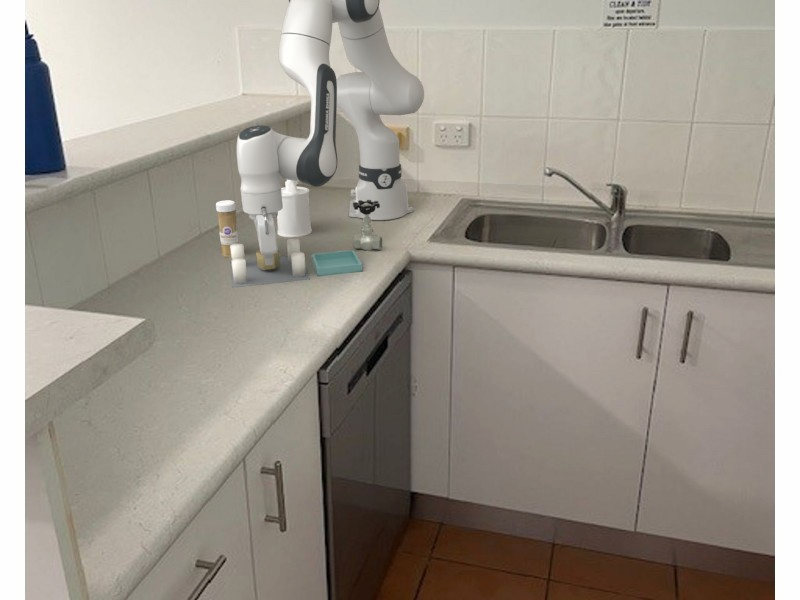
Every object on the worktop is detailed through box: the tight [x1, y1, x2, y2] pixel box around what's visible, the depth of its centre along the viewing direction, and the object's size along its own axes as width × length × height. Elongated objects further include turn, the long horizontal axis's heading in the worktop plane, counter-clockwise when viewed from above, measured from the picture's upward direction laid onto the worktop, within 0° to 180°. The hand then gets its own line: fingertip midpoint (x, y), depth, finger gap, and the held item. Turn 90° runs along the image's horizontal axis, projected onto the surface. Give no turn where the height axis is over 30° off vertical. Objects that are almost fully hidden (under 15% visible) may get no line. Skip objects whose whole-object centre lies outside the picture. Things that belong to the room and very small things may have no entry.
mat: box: [229, 255, 311, 289], centre depth 166 cm, size 17×17×1 cm
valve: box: [352, 200, 383, 252], centre depth 177 cm, size 7×7×12 cm
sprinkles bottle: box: [215, 199, 240, 258], centre depth 175 cm, size 5×5×13 cm
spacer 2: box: [231, 258, 248, 284], centre depth 159 cm, size 3×3×5 cm
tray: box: [311, 249, 363, 277], centre depth 168 cm, size 10×10×2 cm
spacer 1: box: [230, 243, 246, 261], centre depth 168 cm, size 3×3×5 cm
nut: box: [255, 249, 280, 270], centre depth 166 cm, size 4×5×4 cm
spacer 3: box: [286, 237, 301, 262], centre depth 171 cm, size 3×3×5 cm
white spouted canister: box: [276, 179, 313, 238], centre depth 189 cm, size 10×9×20 cm
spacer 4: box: [291, 251, 307, 277], centre depth 162 cm, size 3×3×5 cm
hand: (268, 260), depth 166 cm, fingers closed on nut, 4 cm apart
